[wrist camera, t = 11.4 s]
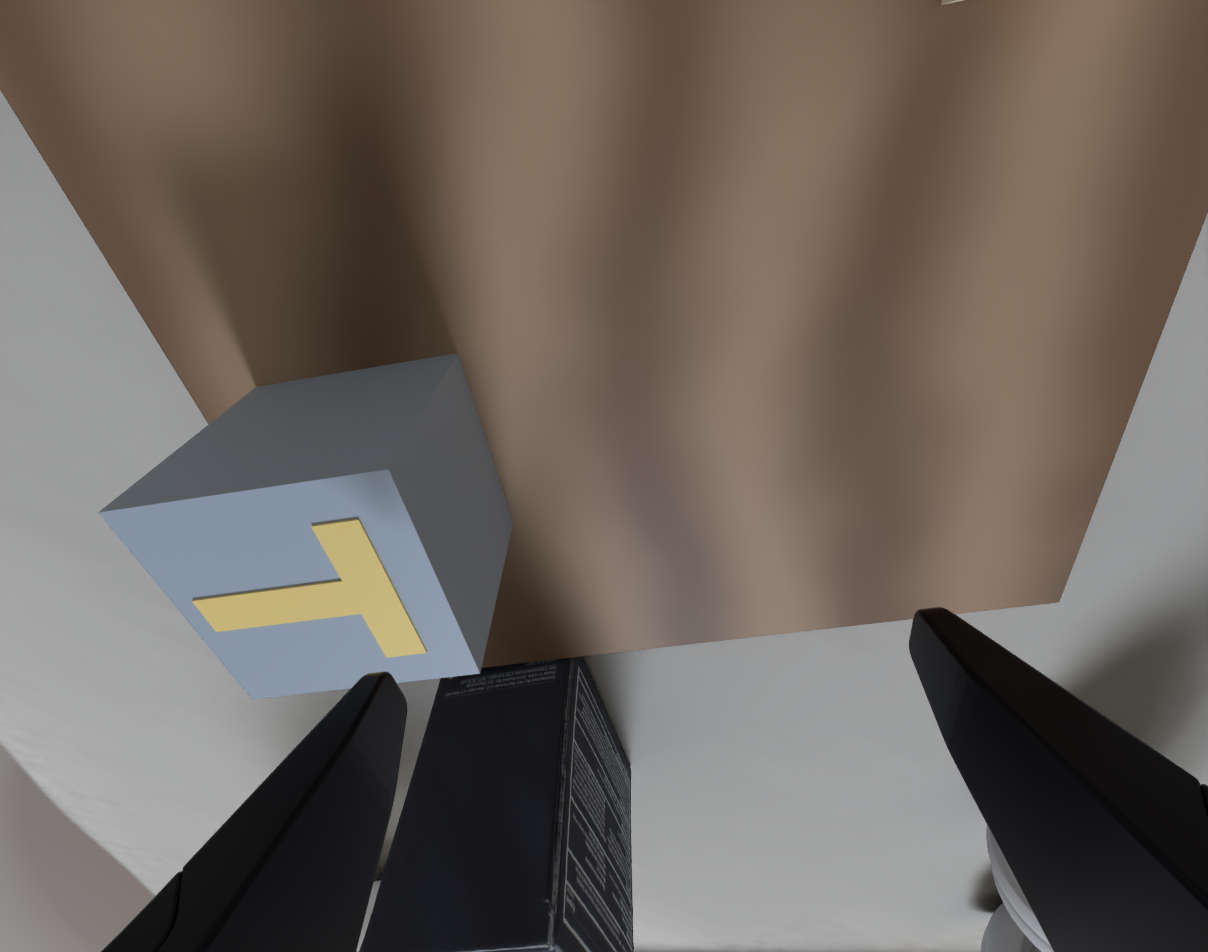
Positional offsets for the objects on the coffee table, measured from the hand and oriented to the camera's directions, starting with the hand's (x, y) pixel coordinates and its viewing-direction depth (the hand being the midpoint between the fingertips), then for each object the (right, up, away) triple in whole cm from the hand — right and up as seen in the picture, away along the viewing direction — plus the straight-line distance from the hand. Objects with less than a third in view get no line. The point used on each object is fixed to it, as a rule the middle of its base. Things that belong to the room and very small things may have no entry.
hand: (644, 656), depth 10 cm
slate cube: (-7, 0, +3) cm, 8 cm away
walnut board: (+1, +8, +7) cm, 10 cm away
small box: (-4, -8, +17) cm, 20 cm away
